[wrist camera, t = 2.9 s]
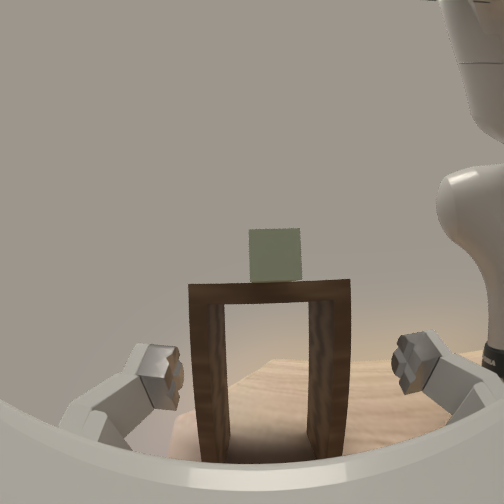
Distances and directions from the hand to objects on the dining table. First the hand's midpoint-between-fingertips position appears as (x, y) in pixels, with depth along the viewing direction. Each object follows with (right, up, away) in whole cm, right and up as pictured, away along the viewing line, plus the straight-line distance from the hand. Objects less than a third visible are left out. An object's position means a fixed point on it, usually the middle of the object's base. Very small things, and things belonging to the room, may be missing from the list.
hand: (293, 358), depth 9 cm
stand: (+1, -25, +21) cm, 33 cm away
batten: (0, +1, +19) cm, 19 cm away
